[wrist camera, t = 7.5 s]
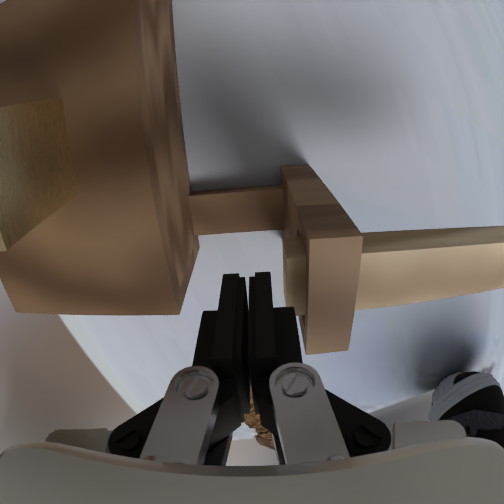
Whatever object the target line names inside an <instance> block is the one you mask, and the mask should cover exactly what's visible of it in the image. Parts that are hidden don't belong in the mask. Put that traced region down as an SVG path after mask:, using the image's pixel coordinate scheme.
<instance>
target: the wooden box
mask: <svg viewBox="0 0 504 504" xmlns="http://www.w3.org/2000/svg"><path fill="white" fill-rule="evenodd" d="M140 13H141V31H142V46H143V59H144V71H145V81H146V91H147V100H148V109H149V117H150V125H151V133H152V140H153V147H154V154H155V161H156V167H157V173H158V179H159V185H160V191H161V197H162V203H163V208H164V214H165V219H166V224H167V230H168V235H169V240H170V245H171V249H172V254H173V259H174V264H175V268H176V273H177V277H178V282H179V286H180V290H181V295H182V299H183V301H184V297H185V294H186V291H187V287H188V284H189V280H190V277H191V274H192V271H193V267H194V264H195V261H196V258H197V254H198V251H199V248H200V247H199V241H198V235H208V234H221V233H235V232H250V231H265V230H281V229H283V233H284V237H299V236H300V237H301V240H302V243H303V246H304V249H305V252H306V300H305V315H299V321H300V326H301V331H302V337H303V342H304V348H305V354H306V355H309V354H320V353H329V352H338V351H346V350H348V348H349V342H350V336H351V330H352V324H353V317H354V310H355V304H356V296H357V289H358V281H359V272H360V263H361V254H362V243H363V235H362V234H361V232H360V231H359V230H358V228H357V227H356V225H355V224H354V223H353V221H352V220H351V219H350V217H349V216H348V214H347V213H346V212H345V210H344V209H343V208H342V206H341V205H340V204H339V202H338V201H337V200H336V198H335V197H334V196H333V195H332V193H331V192H330V191H329V189H328V188H327V187H326V186H325V184H324V183H323V182H322V180H321V179H320V178H319V177H318V175H317V174H316V173H315V172H314V170H313V169H312V168H311V167H310V165H292V166H281V182H282V185H275V186H259V187H245V188H231V189H219V190H208V191H197V192H191V188H190V181H189V173H188V166H187V158H186V150H185V142H184V134H183V126H182V117H181V108H180V98H179V88H178V78H177V67H176V55H175V43H174V29H173V14H172V0H140Z"/></svg>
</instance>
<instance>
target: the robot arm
mask: <svg viewBox="0 0 504 504" xmlns="http://www.w3.org/2000/svg"><path fill="white" fill-rule="evenodd" d="M250 387H251V389H252V396H253V404H254V411H255V414H260V422H261V425H262V426H263V427H264V428H266V429H267V430H268V431H270V432H271V433H272V437H273V442H274V446H275V451H276V455H277V460H278V464H279V465H271V466H226V462H227V458H228V454H229V449H230V445H231V441H232V433H233V431H234V430H236V429H237V428H238V427H239V426H241V422H244V414H250ZM0 504H504V449H503V447H501V446H500V445H499V444H498V443H496V442H494V441H491V440H487V439H483V438H475V437H467V436H466V432H465V429H464V428H463V427H462V425H461V424H460V423H458V422H456V421H453V420H437V421H413V422H395V423H394V424H384V423H383V422H381V421H380V420H378V419H377V418H375V417H373V416H371V415H369V414H368V413H366V412H364V411H362V410H360V409H359V408H357V407H355V406H353V405H352V404H350V403H348V402H346V401H345V400H343V399H341V398H339V397H338V396H336V395H334V394H333V393H331V392H329V391H328V390H326V389H325V388H324V386H323V383H322V380H321V378H320V376H319V374H318V372H317V371H316V370H315V369H314V368H312V367H311V366H309V365H307V364H304V363H303V362H302V355H301V348H300V341H299V335H298V328H297V321H296V315H295V309H294V306H293V307H278V308H273V301H272V287H271V274H270V272H255V277H249V311H248V301H247V292H246V282H245V277H239V273H238V274H223V279H222V286H221V292H220V299H219V306H218V310H216V311H203V314H202V318H201V323H200V328H199V333H198V338H197V344H196V349H195V354H194V360H193V365H192V366H191V367H187V368H184V369H182V370H180V371H179V372H178V373H177V374H175V375H174V377H173V378H172V380H171V382H170V384H169V386H168V389H167V391H166V394H165V396H164V398H162V399H161V400H159V401H158V402H156V403H154V404H153V405H151V406H150V407H148V408H147V409H145V410H143V411H142V412H140V413H139V414H137V415H136V416H134V417H133V418H131V419H129V420H127V421H126V422H124V423H123V424H121V425H119V426H118V427H117V428H116V429H114V430H112V431H109V430H108V429H107V428H99V429H60V430H55V431H53V432H52V433H50V434H49V435H48V437H47V438H46V440H45V442H40V441H38V442H25V443H20V444H16V445H13V446H10V447H9V448H7V449H5V450H4V451H3V452H2V453H1V454H0Z"/></svg>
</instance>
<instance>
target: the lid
mask: <svg viewBox="0 0 504 504" xmlns="http://www.w3.org/2000/svg"><path fill="white" fill-rule="evenodd" d="M0 279H1V281H2V283H3V286H4V288H5V290H6V292H7V294H8V297H9V299H10V301H11V302H12V305H13V307H14V309H15V311H16V312H21V313H41V314H42V313H43V314H69V315H180V311H181V308H182V304H183V299H182V295H181V290H180V286H179V282H178V277H177V273H176V268H175V264H174V259H173V254H172V249H171V245H170V240H169V235H168V230H167V224H166V219H165V214H164V208H163V203H162V197H161V191H160V185H159V179H158V173H157V167H156V161H155V154H154V147H153V140H152V133H151V125H150V117H149V109H148V100H147V91H146V81H145V71H144V59H143V46H142V31H141V13H140V0H6V1H5V2H3V3H2V4H0Z"/></svg>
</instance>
